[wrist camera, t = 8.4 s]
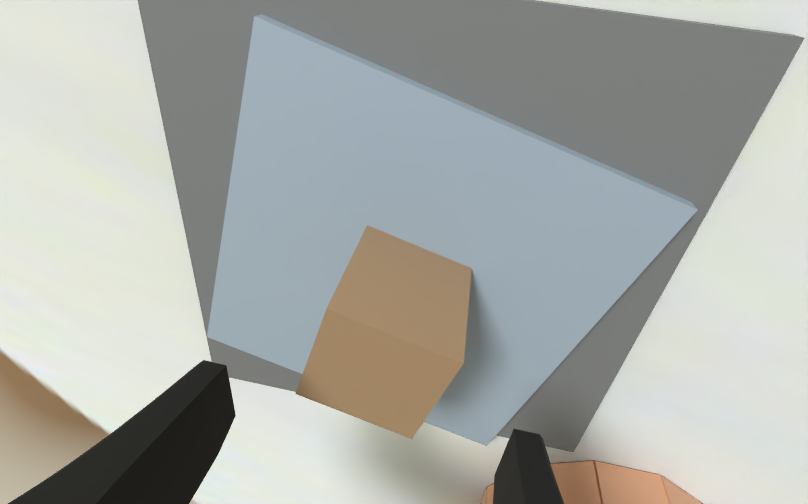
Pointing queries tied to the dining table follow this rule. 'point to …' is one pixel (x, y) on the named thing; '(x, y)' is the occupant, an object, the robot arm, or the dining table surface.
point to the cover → (414, 241)
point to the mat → (497, 95)
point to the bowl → (610, 485)
